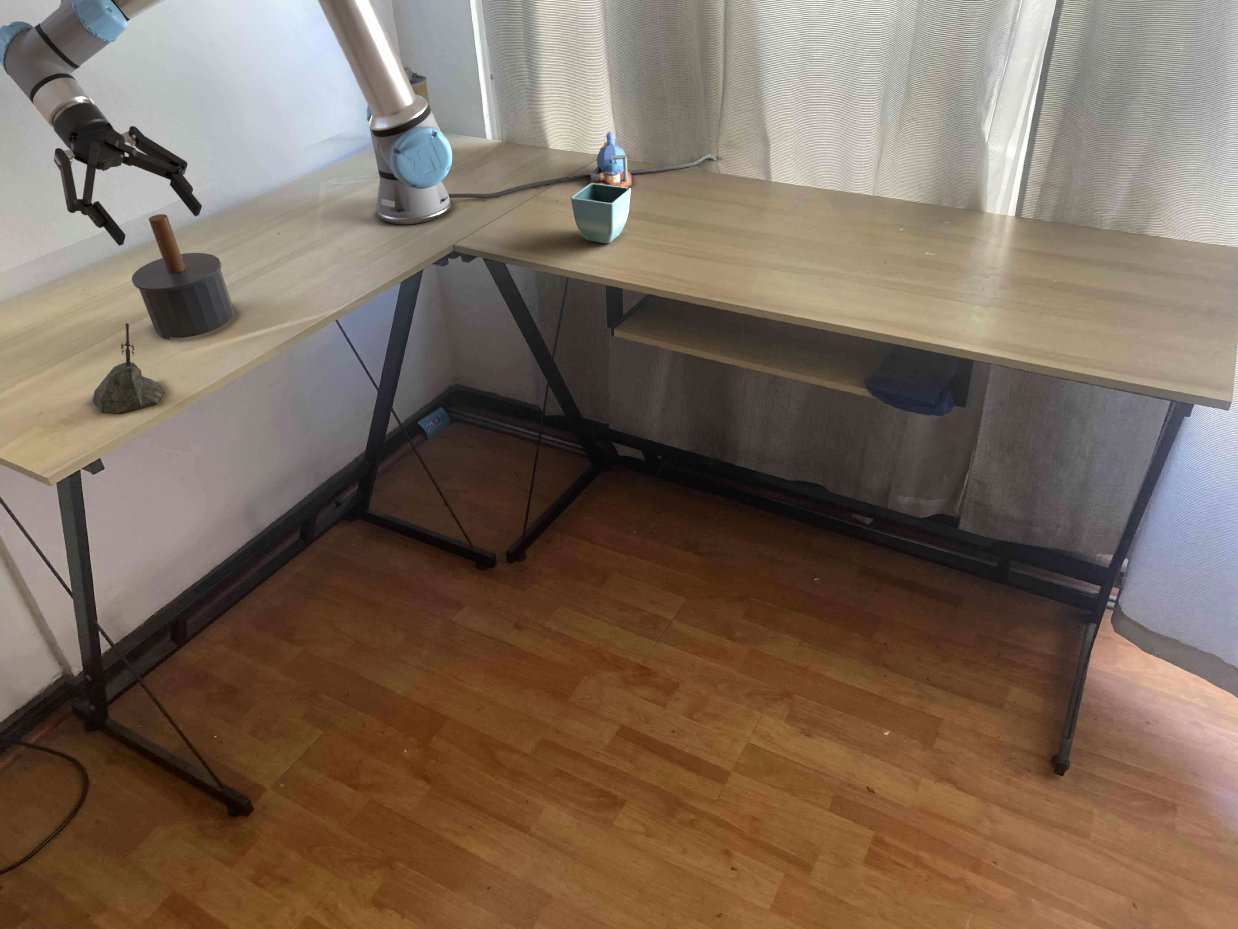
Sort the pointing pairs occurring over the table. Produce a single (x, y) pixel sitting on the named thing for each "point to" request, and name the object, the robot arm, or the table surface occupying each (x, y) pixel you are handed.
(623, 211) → the flower pot
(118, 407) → the sword in stone
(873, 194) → the table surface
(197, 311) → the tin
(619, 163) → the model
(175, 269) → the lid
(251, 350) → the table surface
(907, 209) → the table surface
